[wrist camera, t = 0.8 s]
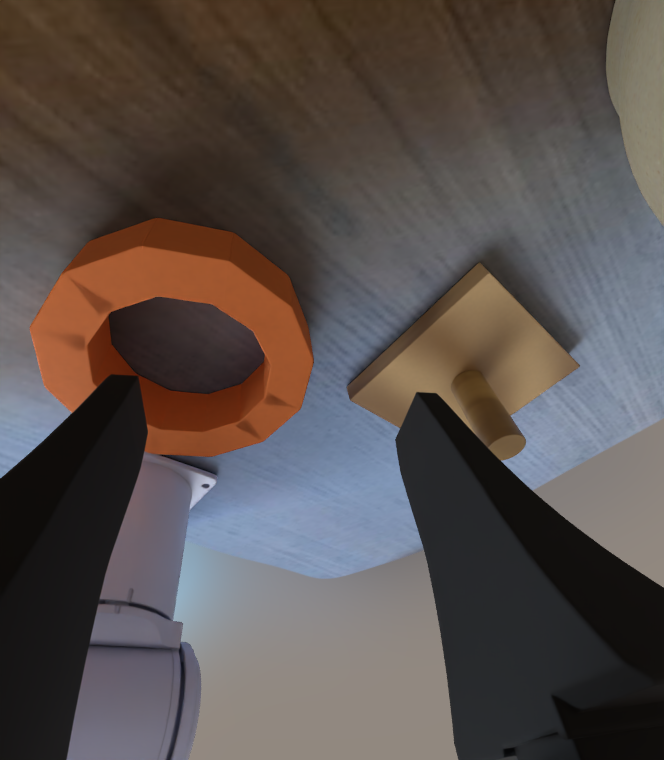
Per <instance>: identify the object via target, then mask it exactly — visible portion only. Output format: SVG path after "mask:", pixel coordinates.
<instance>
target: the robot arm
mask: <svg viewBox="0 0 664 760" xmlns="http://www.w3.org/2000/svg"><path fill="white" fill-rule="evenodd" d="M147 435H148V428H147V423H146V417H145V411H144V405H143V399H142V394H141V388H140V382H139V376H134V375H116V374H111V375H109V376H108V377H107V378H106V379H105V380H104V381H103V382H102V383H101V384H100V385H99V386H98V387H97V388H96V389H95V390H94V391H93V392H92V393H91V394H90V395H89V396H88V397H87V398H86V400H85V401H84V402H83V403H82V404H81V405H80V406H79V407H78V408H77V409H76V410H75V411H74V412H73V413H72V414H71V415H70V416H69V417H68V418H67V419H66V420H65V421H64V422H63V423H61V424H60V425H59V426H58V427H57V428H56V429H55V430H54V431H53V432H52V433H51V434H50V435H49V436H48V437H47V438H46V439H45V440H44V441H43V442H42V443H40V444H39V445H38V446H37V447H36V448H35V449H34V450H33V451H32V452H30V453H29V454H28V455H27V456H26V457H25V458H24V459H22V460H21V461H20V462H19V463H18V464H17V465H16V466H14V467H13V468H12V469H11V470H10V471H9V472H8V473H6V474H5V475H4V476H3V477H2V478H0V760H188V759H189V756H190V753H191V749H192V746H193V741H194V738H195V733H196V728H197V723H198V717H199V709H200V698H201V674H200V667H199V663H198V661H197V658H196V657H195V654H194V651H193V649H192V647H191V645H190V644H188V643H187V642H181V635H182V627H183V623H182V622H176V621H173V616H174V611H175V604H176V597H177V591H178V584H179V577H180V571H181V564H182V557H183V551H184V544H185V538H186V531H187V524H188V518H189V511H190V509H191V508H192V507H193V506H194V505H195V504H196V503H197V502H198V501H199V500H200V499H201V498H202V497H203V496H204V495H205V494H206V493H207V492H208V491H209V490H210V489H211V488H212V487H213V486H214V485H215V484H216V483H217V476H216V475H214V474H212V473H209V472H206V471H204V470H201V469H198V468H195V467H192V466H189V465H186V464H183V463H181V462H178V461H175V460H172V459H169V458H166V457H163V456H160V455H158V454H151V453H147V452H145V451H144V450H145V445H146V440H147ZM395 441H396V447H397V454H398V460H399V466H400V471H401V475H402V479H403V482H404V485H405V489H406V492H407V496H408V499H409V502H410V505H411V509H412V512H413V515H414V518H415V522H416V525H417V528H418V531H419V535H420V538H421V541H422V544H423V548H424V552H425V555H426V559H427V563H428V568H429V573H430V578H431V582H432V588H433V593H434V598H435V604H436V610H437V615H438V621H439V626H440V632H441V638H442V645H443V651H444V659H445V666H446V673H447V680H448V688H449V697H450V706H451V714H452V723H453V734H454V744H455V747H456V752H457V756H458V759H459V760H664V588H663V587H662V586H660V585H659V584H657V583H655V582H654V581H652V580H651V579H649V578H648V577H646V576H645V575H643V574H642V573H640V572H639V571H637V570H636V569H634V568H633V567H631V566H630V565H628V564H627V563H625V562H623V561H622V560H621V559H619V558H618V557H616V556H615V555H613V554H612V553H611V552H609V551H608V550H606V549H605V548H603V547H602V546H600V545H599V544H598V543H597V542H595V541H594V540H593V539H591V538H590V537H589V536H587V535H586V534H584V533H583V532H582V531H581V530H579V529H578V528H577V527H575V526H574V525H573V524H571V523H570V522H569V521H568V520H566V519H565V518H564V517H563V516H561V515H560V514H559V513H558V512H557V511H555V510H554V509H553V508H552V507H551V506H549V505H548V504H547V503H546V502H544V501H543V500H542V499H541V498H540V497H539V496H538V495H536V494H535V493H534V492H533V491H532V490H531V489H530V488H529V487H527V486H526V485H525V484H524V483H523V482H522V481H521V480H520V479H519V478H518V477H517V476H516V475H515V474H514V473H513V472H512V471H511V470H510V469H508V468H507V467H506V466H505V465H504V464H503V463H502V462H501V461H500V460H499V459H498V458H497V457H496V456H495V455H494V454H493V453H492V452H491V451H490V449H489V448H488V447H487V446H486V445H485V444H484V443H483V442H482V441H481V440H480V439H479V438H478V437H477V436H476V435H475V434H474V433H473V431H472V430H471V429H470V428H469V427H468V426H467V425H466V424H465V423H464V422H463V421H462V420H461V418H460V417H459V416H458V415H457V414H456V413H455V412H454V411H453V410H452V409H451V408H450V406H449V405H448V404H447V403H446V402H445V401H444V400H443V399H442V398H441V397H440V396H439V395H438V394H437V393H426V392H416V394H415V396H414V399H413V401H412V403H411V405H410V408H409V410H408V412H407V414H406V417H405V419H404V421H403V423H402V426H401V428H400V430H399V433H398V435H397V437H396V439H395Z"/></svg>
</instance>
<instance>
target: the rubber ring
mask: <svg viewBox="0 0 664 760" xmlns="http://www.w3.org/2000/svg"><path fill="white" fill-rule="evenodd" d="M157 296H160V297H166V298H173V299H180V300H187V301H194V302H201V303H207V304H212V305H214V306H216V307H217V308H219V309H220V310H222V311H223V312H225V313H226V314H228V315H229V316H231V317H232V318H234V319H235V320H237V321H238V322H240V323H241V324H243V325H245V326H246V327H248V328H249V329H251V330H252V331H253V332H254V334H255V336H256V338H257V340H258V342H259V344H260V346H261V348H262V350H263V352H264V354H265V357H264V362H263V363H262V364H261V365H260V366H259V367H258V368H257V369H256V370H255V371H254V372H253V373H252V374H251V375H250V376H249V377H248V378H247V379H246V380H245V381H244V382H243V383H242V384H239V385H236V386H233V387H229V388H226V389H223V390H220V391H217V392H213V393H210V394H202V393H190V392H179V391H170V390H168V389H166V388H164V387H162V386H160V385H158V384H156V383H154V382H152V381H150V380H148V379H146V378H144V377H142V376H140V375H138V374H136V373H135V372H134V371H133V370H132V369H131V367H130V366H129V365H128V364H127V362H126V361H125V360H124V359H123V358H122V356H121V355H120V354H119V353H118V351H117V350H116V349H115V348H114V347H113V345H112V344H111V335H110V326H109V317H108V315H109V314H110V312H112V311H115V310H118V309H121V308H124V307H127V306H130V305H133V304H136V303H139V302H142V301H145V300H148V299H151V298H154V297H157ZM30 332H31V336H32V340H33V344H34V348H35V351H36V355H37V359H38V363H39V367H40V371H41V375H42V379H43V383H44V386H45V388H46V389H47V390H48V391H50V392H51V393H52V394H53V395H54V396H55V397H56V398H57V399H58V400H59V401H60V402H61V403H62V404H63V405H64V406H65V407H66V408H68V409H69V410H70V411H71V412H72V413H73V412H74V411H75V410H76V409H77V408H78V407H79V406H80V405H81V404H82V403H83V402H84V401H85V400H86V398H87V397H88V396H89V395H90V394H91V393H92V392H93V391H94V390H95V389H96V388H97V387H98V386H99V385H100V384H101V383H102V382H103V381H104V380H105V379H106V378H107V377H108V376H109V375H111V374H116V375H134V376H139V382H140V388H141V394H142V399H143V405H144V411H145V417H146V423H147V428H148V435H147V440H146V445H145V450H144V451H145V452H147V453H151V454H164V455H183V456H203V457H213V456H216V455H219V454H223V453H226V452H230V451H233V450H236V449H240V448H243V447H246V446H250V445H253V444H257V443H260V442H263V441H264V440H266V439H267V438H268V437H269V436H270V435H271V434H272V433H274V432H275V431H276V430H277V429H278V428H279V427H281V426H282V425H283V424H284V423H285V422H286V421H287V420H289V419H290V418H291V417H292V416H293V415H294V414H295V413H297V412H298V411H299V410H300V409H301V407H302V403H303V400H304V396H305V392H306V389H307V385H308V381H309V378H310V374H311V371H312V367H313V363H314V358H313V352H312V346H311V340H310V334H309V328H308V325H307V322H306V319H305V317H304V314H303V312H302V309H301V306H300V304H299V301H298V299H297V296H296V293H295V291H294V288H293V286H292V283H291V280H290V278H289V277H288V275H287V274H286V273H285V272H283V271H282V270H281V269H280V268H278V267H277V266H276V265H274V264H273V263H272V262H271V261H269V260H268V259H267V258H266V257H264V256H263V255H262V254H261V253H259V252H258V251H257V250H256V249H254V248H253V247H252V246H250V245H249V244H248V243H247V242H245V241H244V240H243V239H242V238H240V237H239V236H238V235H237V234H235V233H233V232H229V231H224V230H219V229H214V228H209V227H204V226H198V225H193V224H188V223H183V222H178V221H173V220H168V219H163V218H154V219H151V220H148V221H145V222H142V223H140V224H137V225H134V226H131V227H128V228H125V229H122V230H119V231H117V232H114V233H111V234H108V235H105V236H102V237H99V238H97V239H94V240H91V241H89V242H88V243H87V244H86V245H85V246H84V248H83V249H82V250H81V251H80V252H79V253H78V255H77V256H76V257H75V258H74V259H73V260H72V262H71V263H70V264H69V265H68V266H67V268H66V269H65V270H64V271H63V272H62V274H61V275H60V277H59V279H58V280H57V282H56V284H55V285H54V287H53V289H52V290H51V292H50V294H49V295H48V297H47V299H46V300H45V302H44V304H43V305H42V307H41V309H40V311H39V312H38V314H37V316H36V317H35V319H34V321H33V322H32V324H31V326H30Z"/></svg>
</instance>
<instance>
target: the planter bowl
mask: <svg viewBox="0 0 664 760" xmlns="http://www.w3.org/2000/svg"><path fill="white" fill-rule="evenodd" d="M606 75H607V83H608V89H609V94H610V97H611V100H612V103H613V105H614V107H615V110H616V112H617V114H618V115H619V117H620V125H621V131H622V136H623V141H624V146H625V150H626V154H627V157H628V160H629V163H630V167H631V170H632V173H633V175H634V177H635V180H636V182H637V184H638V186H639V189H640V191H641V193H642V195H643V197H644V198H645V200H646V202H647V203H648V205H649V206H650V208H651V210H652V211H653V212H654V214H655V215H656V217H657V218H658V219H659V221H660V222H661V224H662V225H663V226H664V0H616V1H615V5H614V8H613V13H612V17H611V22H610V27H609V32H608V37H607V49H606Z"/></svg>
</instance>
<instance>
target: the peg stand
mask: <svg viewBox="0 0 664 760" xmlns="http://www.w3.org/2000/svg"><path fill="white" fill-rule="evenodd" d="M578 367H580V365H579V364H578V363H577V362H576V361H575V360H574V359H573V358H572V357H571V356H570V355H569V354H568V353H567V352H566V351H565V349H564V348H563V347H562V346H561V345H560V344H559V343H558V342H557V341H556V340H555V339H554V338H553V337H552V336H551V335H550V334H549V333H548V332H547V331H546V330H545V329H544V328H543V327H542V326H541V325H540V324H539V323H538V322H537V321H536V320H535V319H534V317H533V316H532V315H531V314H530V313H529V312H528V311H527V310H526V309H525V308H524V307H523V306H522V305H521V304H520V303H519V302H518V301H517V300H516V299H515V298H514V297H513V296H512V295H511V294H510V293H509V292H508V291H507V290H506V289H505V288H504V286H503V285H502V284H501V283H500V282H499V281H498V280H497V279H496V278H495V277H494V276H493V275H492V274H491V273H490V272H489V271H488V270H487V269H486V268H485V267H484V266H483V265H482V264H481V263H478V264H477V265H476V266H475V267H474V268H473V269H472V270H470V271H469V272H468V273H467V274H466V275H465V276H464V277H463V278H462V279H461V280H460V281H459V282H458V283H457V284H456V285H455V286H453V287H452V288H451V289H450V290H449V291H448V292H447V293H446V294H445V295H444V296H443V297H442V298H441V299H440V300H439V301H438V302H436V303H435V304H434V305H433V306H432V307H431V308H430V309H429V310H428V311H427V312H426V313H425V314H424V315H423V316H422V317H421V318H419V319H418V320H417V321H416V322H415V323H414V324H413V325H412V326H411V327H410V328H409V329H408V330H407V331H406V332H405V333H403V334H402V335H401V336H400V337H399V338H398V339H397V340H396V341H395V342H394V343H393V344H392V345H391V346H390V347H389V348H388V349H386V350H385V351H384V352H383V353H382V354H381V355H380V356H379V357H378V358H377V359H376V360H375V361H374V362H373V363H372V364H371V365H369V366H368V367H367V368H366V369H365V370H364V371H363V372H362V373H361V374H360V375H359V376H358V377H357V378H356V379H355V380H354V381H352V382H351V383H350V384H349V385H348V386H347V391H348V395H349V399H350V400H351V401H352V402H354V403H356V404H358V405H360V406H361V407H363V408H365V409H367V410H368V411H370V412H372V413H374V414H376V415H377V416H379V417H381V418H383V419H385V420H386V421H388V422H390V423H392V424H394V425H395V426H397V427H399V428H401V426H402V423H403V421H404V419H405V417H406V414H407V412H408V410H409V408H410V405H411V403H412V401H413V399H414V396H415V394H416V392H426V393H437V394H438V395H439V396H440V397H441V398H442V399H443V400H444V401H445V402H446V403H447V404H448V405H449V406H450V408H451V409H452V410H453V411H454V412H455V413H456V414H457V415H458V416H459V417H460V418H461V420H462V421H463V422H464V423H465V424H466V425H467V426H468V427H469V428H470V429H471V430H472V431H473V433H474V434H475V435H476V436H477V437H478V438H479V439H480V440H481V441H482V442H483V443H484V444H485V445H486V446H487V447H488V448H489V449H490V451H491V452H492V453H493V454H494V455H495V456H496V457H497V458H498V459H499V460H506V459H509V458H511V457H513V456H515V455H517V454H518V453H519V452H521V451H522V449H523V448H524V447H525V444H526V439H525V437H524V436H523V434H522V433H521V431H520V430H519V428H518V427H517V425H516V424H515V422H514V421H513V419H512V418H511V415H512V414H514V413H515V412H516V411H518V410H519V409H521V408H522V407H523V406H525V405H526V404H528V403H529V402H530V401H532V400H533V399H535V398H536V397H537V396H539V395H540V394H542V393H543V392H545V391H546V390H547V389H549V388H550V387H552V386H553V385H554V384H556V383H557V382H559V381H560V380H561V379H563V378H564V377H566V376H567V375H569V374H570V373H571V372H573V371H574V370H576V369H577V368H578Z"/></svg>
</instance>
